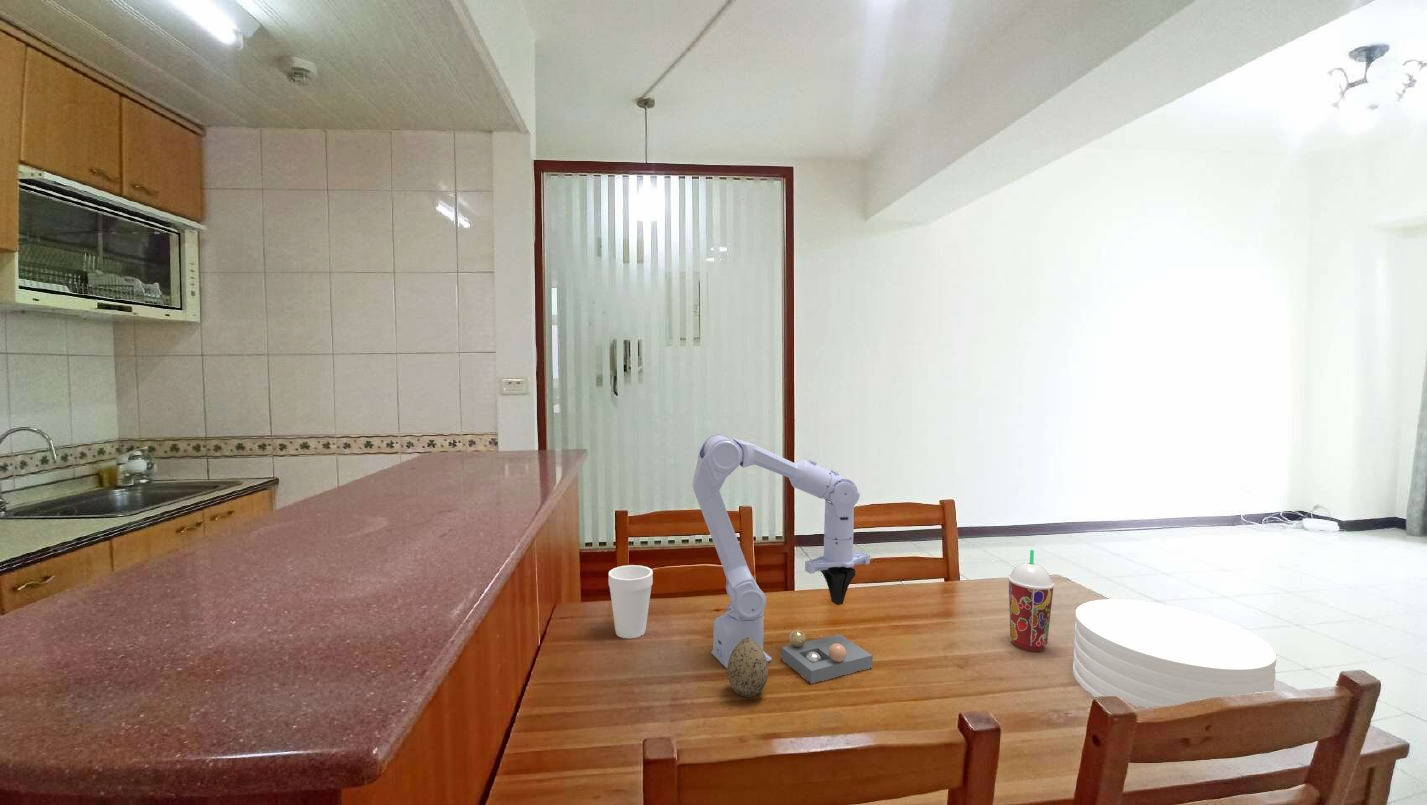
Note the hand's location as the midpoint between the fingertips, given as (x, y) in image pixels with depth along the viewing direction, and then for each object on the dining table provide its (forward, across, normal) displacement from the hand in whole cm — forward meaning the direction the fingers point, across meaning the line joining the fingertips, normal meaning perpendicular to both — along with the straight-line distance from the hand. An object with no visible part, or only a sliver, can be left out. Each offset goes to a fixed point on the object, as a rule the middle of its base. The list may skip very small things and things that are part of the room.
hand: (837, 603), depth 119 cm
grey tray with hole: (+10, -5, -4) cm, 12 cm away
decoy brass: (+6, -9, 0) cm, 11 cm away
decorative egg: (+10, -24, -6) cm, 27 cm away
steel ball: (+8, -8, -4) cm, 12 cm away
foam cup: (+10, -35, +26) cm, 44 cm away
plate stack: (+10, +44, -37) cm, 58 cm away
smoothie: (+10, +38, -14) cm, 42 cm away
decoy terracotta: (+6, -6, -8) cm, 11 cm away
